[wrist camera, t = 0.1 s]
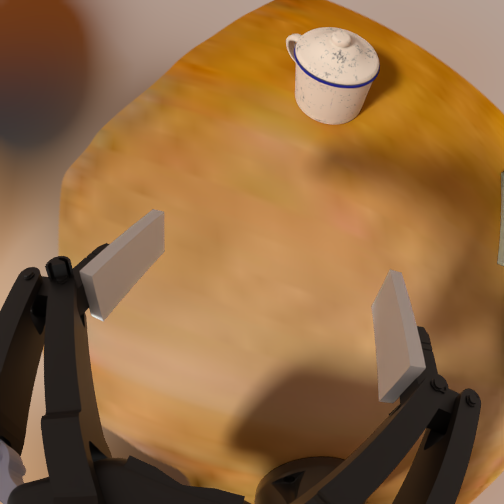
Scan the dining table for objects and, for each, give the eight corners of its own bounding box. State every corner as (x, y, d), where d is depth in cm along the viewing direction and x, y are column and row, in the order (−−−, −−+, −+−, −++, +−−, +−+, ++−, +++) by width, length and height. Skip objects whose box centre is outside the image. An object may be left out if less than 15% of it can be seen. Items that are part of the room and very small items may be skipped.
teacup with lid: (376, 104, 31) (403, 48, 20) (329, 140, 32) (347, 82, 20) (311, 52, 33) (316, -9, 21) (263, 81, 33) (254, 18, 22)
